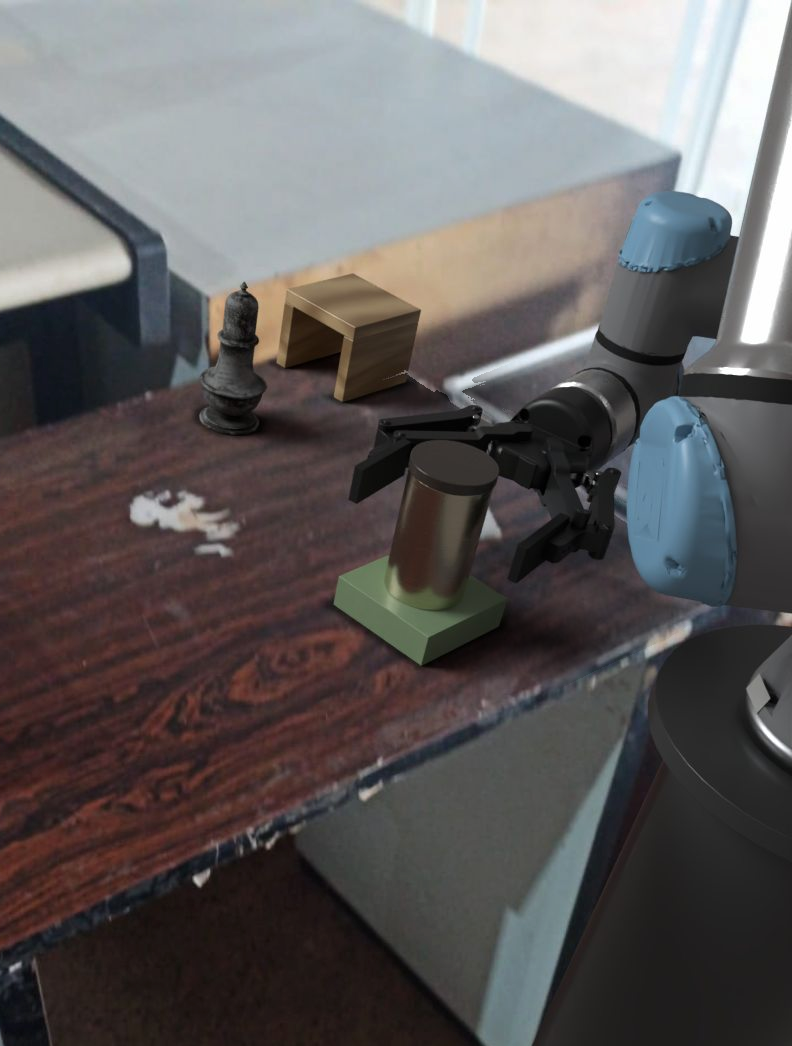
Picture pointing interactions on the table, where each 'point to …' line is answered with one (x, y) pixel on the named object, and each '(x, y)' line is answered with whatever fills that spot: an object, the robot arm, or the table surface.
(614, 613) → the table surface
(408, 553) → the tin
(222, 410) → the salt shaker
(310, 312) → the wooden arch stand
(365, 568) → the green flat square block
